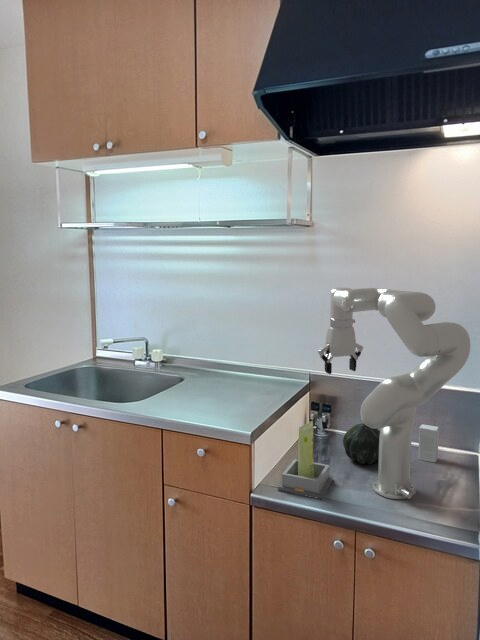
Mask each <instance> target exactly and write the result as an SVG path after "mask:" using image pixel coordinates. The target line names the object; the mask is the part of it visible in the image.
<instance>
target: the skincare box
mask: <svg viewBox="0 0 480 640" xmlns="http://www.w3.org/2000/svg"><path fill="white" fill-rule="evenodd" d="M439 432H440V427H439V426H435V425H429V424H421V425H420V426H419V427H418V454H417V455H418V456H417V457H418V459H417V460H421V461H425V462H429V463H430V462H431V463H437V460H438V458H439Z"/></svg>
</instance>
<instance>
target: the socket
mask: <svg viewBox="0 0 480 640" xmlns="http://www.w3.org/2000/svg"><path fill="white" fill-rule="evenodd" d="M333 480H334V475H330V464H325V463H321V462H320V463H318V462H314V479H313V478H307V477H302V476H298V459H297V458H294V459H293V460H292V461H291V463H290V464H289V465H288V466H287V467H286V469H285V470H284V471H283V472H282V474H281V483H279V485H278V486H277V491H279V490H282V491H281V492H284V491H285V492H284V493H288V492H289V493H290V494H293V493H295V494H294V495H298V494H301V495H300V496H303V495H307V496H311V497H310V498H312V497H317V498H321V497H322V496H323V497H324V495H325V494H326V492H327V490H328V488H329V487H330V485H331V483H332V482H333ZM324 493H325V494H324ZM307 496H306V497H307ZM323 497H322V498H323ZM317 498H316V499H317Z"/></svg>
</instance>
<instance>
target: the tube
mask: <svg viewBox="0 0 480 640" xmlns="http://www.w3.org/2000/svg"><path fill="white" fill-rule="evenodd" d="M314 455H315V454H314V420H311V421H309V422H307V423H305V424H304V425H301V426H299V428H298V455H297V456H298V476H302V477H307V478H313V479H314V463H315V461H314V457H315V456H314Z"/></svg>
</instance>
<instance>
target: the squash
mask: <svg viewBox="0 0 480 640" xmlns="http://www.w3.org/2000/svg"><path fill="white" fill-rule="evenodd" d="M379 436H380V430H379V429H373V428H370V427H368V426H367V425H365V424H364V422H362V423H358V424H355V425H354V426H352V427H351V428H349V429H348V430H347V431H346V432H345V434H344V436H343V439H342V445H343V448H344V452H345V454H346V455H347V457H348V458H350V459H352V460H354V461H357V462H358V463H359V464H360V465H365V464H368V465H372V464H374V463H377V462H378V463H379Z"/></svg>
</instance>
